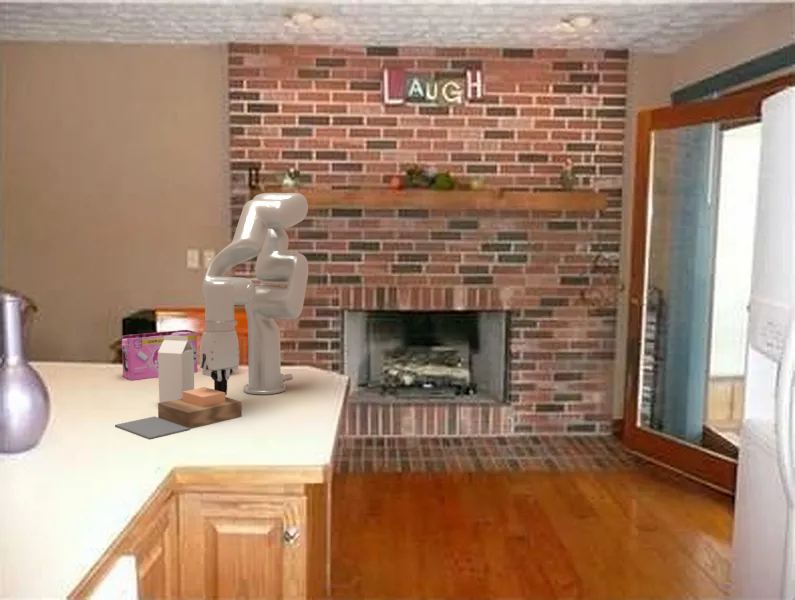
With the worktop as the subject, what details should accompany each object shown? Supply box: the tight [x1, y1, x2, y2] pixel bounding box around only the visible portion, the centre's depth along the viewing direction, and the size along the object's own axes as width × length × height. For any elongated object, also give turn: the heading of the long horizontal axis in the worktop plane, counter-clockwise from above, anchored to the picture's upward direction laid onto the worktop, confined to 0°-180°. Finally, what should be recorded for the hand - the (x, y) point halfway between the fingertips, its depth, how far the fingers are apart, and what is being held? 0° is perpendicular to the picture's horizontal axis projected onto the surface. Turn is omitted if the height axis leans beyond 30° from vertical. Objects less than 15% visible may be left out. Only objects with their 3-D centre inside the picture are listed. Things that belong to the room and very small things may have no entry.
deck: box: [157, 396, 243, 429], centre depth 200 cm, size 16×14×4 cm
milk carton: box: [158, 336, 195, 403], centre depth 214 cm, size 7×7×19 cm
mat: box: [114, 416, 191, 440], centre depth 190 cm, size 11×16×1 cm
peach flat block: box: [183, 386, 226, 407], centre depth 201 cm, size 7×9×2 cm
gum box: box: [121, 329, 198, 381], centre depth 252 cm, size 24×8×14 cm, turn 129°
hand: (220, 394), depth 205 cm, fingers closed
